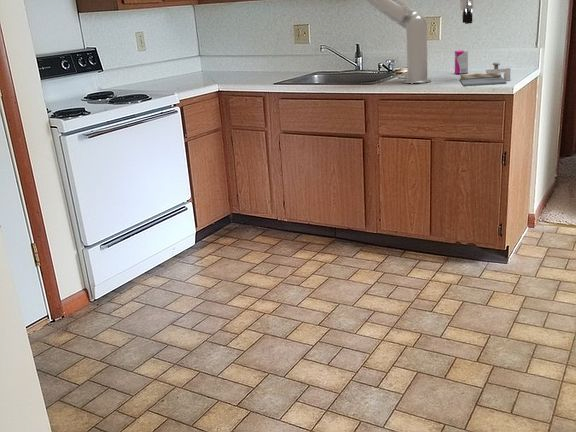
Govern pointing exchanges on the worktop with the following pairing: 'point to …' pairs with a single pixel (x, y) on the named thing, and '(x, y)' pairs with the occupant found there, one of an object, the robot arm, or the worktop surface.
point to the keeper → (506, 72)
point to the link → (482, 74)
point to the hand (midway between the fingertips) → (467, 22)
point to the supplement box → (461, 62)
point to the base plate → (482, 81)
